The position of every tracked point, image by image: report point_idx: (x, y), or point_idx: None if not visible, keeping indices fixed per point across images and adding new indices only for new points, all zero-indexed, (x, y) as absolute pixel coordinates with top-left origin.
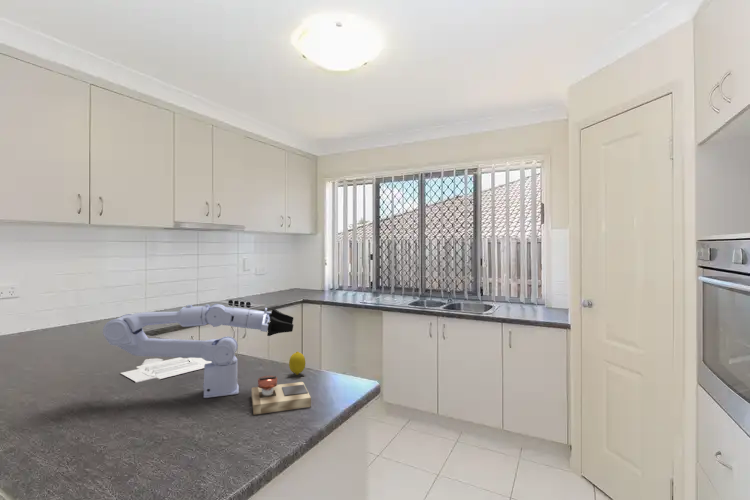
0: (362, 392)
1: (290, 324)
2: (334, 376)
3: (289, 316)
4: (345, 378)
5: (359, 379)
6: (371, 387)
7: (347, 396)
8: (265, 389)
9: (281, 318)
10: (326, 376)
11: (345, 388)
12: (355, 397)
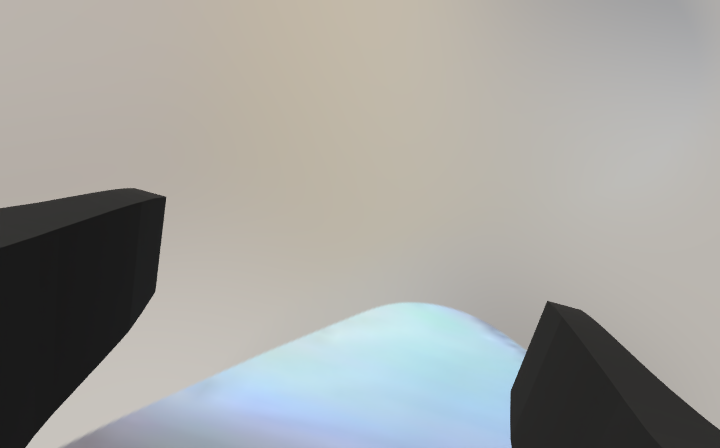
0: None
1: (603, 334)
2: (242, 400)
3: (133, 206)
4: (304, 366)
5: (349, 324)
6: (470, 322)
7: None
8: None
9: (26, 337)
10: (215, 437)
11: (454, 413)
12: None
